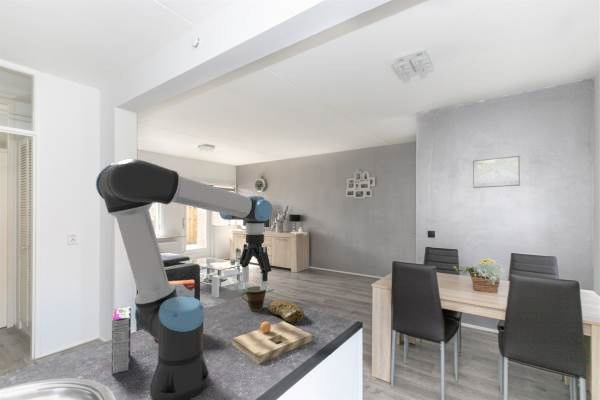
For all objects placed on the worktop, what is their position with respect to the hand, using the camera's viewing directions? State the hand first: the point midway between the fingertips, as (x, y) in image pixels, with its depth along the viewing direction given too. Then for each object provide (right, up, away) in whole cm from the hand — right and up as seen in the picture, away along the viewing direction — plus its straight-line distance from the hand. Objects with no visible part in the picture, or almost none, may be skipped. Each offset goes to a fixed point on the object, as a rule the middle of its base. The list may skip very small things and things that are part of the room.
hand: (254, 285), depth 117 cm
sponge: (+12, -19, +16) cm, 28 cm away
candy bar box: (-38, -18, -26) cm, 50 cm away
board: (+9, -18, -11) cm, 23 cm away
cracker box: (-30, -18, -5) cm, 36 cm away
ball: (+6, -14, -7) cm, 16 cm away
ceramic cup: (-4, -19, +24) cm, 31 cm away
